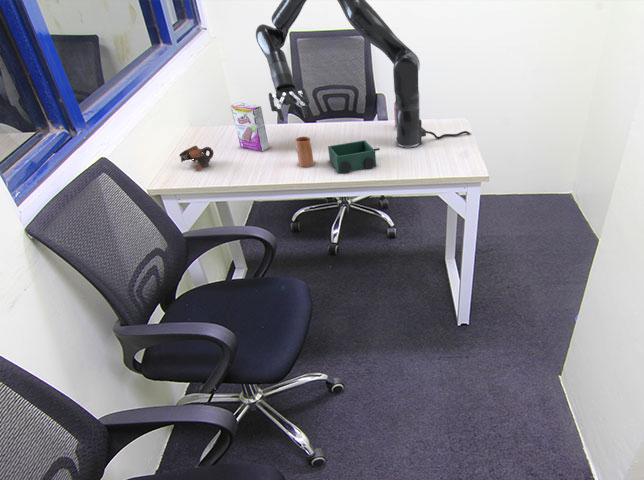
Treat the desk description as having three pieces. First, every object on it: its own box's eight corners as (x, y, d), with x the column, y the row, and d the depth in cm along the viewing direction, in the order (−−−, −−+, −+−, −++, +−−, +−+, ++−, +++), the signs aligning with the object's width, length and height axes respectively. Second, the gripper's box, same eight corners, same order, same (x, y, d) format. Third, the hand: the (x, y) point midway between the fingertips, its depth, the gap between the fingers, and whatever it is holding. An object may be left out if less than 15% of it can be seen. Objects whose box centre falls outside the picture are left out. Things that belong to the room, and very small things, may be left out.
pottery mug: (190, 175, 187) (176, 154, 184) (190, 177, 195) (177, 157, 192) (220, 159, 190) (206, 138, 187) (218, 162, 198) (205, 142, 195)
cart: (366, 155, 198) (364, 140, 195) (376, 166, 190) (375, 150, 186) (329, 161, 194) (327, 146, 190) (338, 173, 186) (336, 157, 182)
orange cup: (311, 160, 195) (308, 135, 189) (315, 165, 191) (311, 140, 185) (297, 163, 193) (293, 137, 187) (301, 168, 190) (297, 142, 183)
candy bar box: (239, 148, 205) (229, 105, 195) (247, 143, 209) (238, 101, 198) (262, 152, 202) (253, 109, 191) (270, 147, 205) (261, 105, 194)
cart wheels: (374, 152, 200) (373, 141, 198) (386, 165, 191) (386, 154, 188) (331, 160, 195) (329, 149, 192) (341, 174, 185) (340, 162, 183)
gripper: (263, 74, 186) (275, 116, 185) (301, 70, 190) (313, 110, 189) (263, 86, 193) (275, 126, 192) (300, 81, 197) (312, 121, 196)
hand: (294, 118), depth 191 cm, fingers open, 8 cm apart
